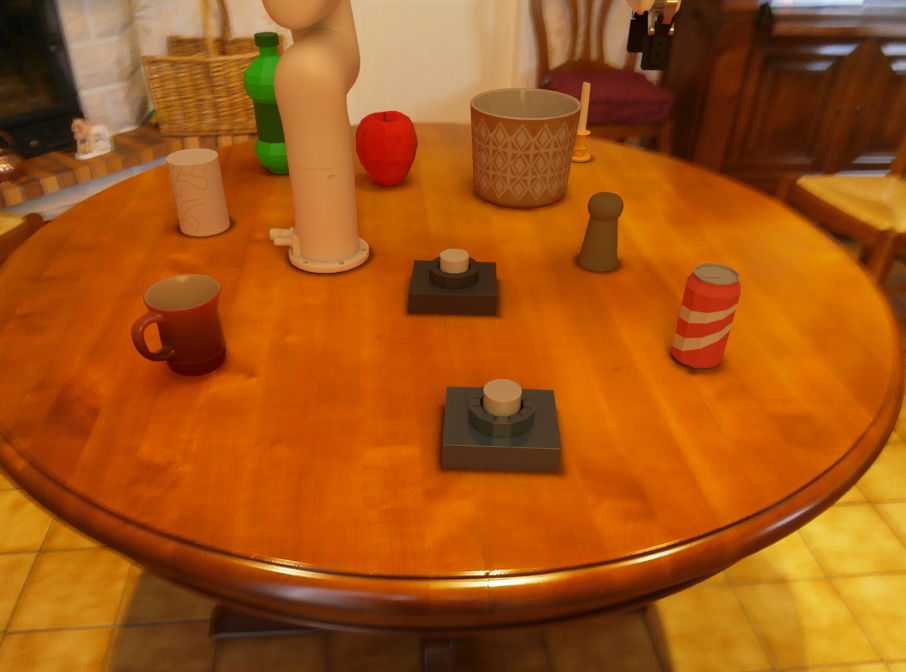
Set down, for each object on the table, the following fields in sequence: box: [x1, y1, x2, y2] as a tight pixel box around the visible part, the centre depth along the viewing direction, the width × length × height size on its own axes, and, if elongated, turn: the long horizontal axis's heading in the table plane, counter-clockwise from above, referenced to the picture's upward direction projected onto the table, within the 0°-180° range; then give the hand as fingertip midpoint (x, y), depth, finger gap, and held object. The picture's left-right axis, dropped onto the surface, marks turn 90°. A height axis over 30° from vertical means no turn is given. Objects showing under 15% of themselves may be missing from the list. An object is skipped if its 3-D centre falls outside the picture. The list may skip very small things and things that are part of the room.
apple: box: [354, 110, 419, 187], centre depth 138 cm, size 12×12×13 cm
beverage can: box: [670, 263, 742, 369], centre depth 89 cm, size 6×6×12 cm
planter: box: [469, 87, 582, 209], centre depth 133 cm, size 19×19×16 cm
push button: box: [439, 248, 470, 273], centre depth 102 cm, size 4×4×2 cm
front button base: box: [441, 385, 562, 473], centre depth 79 cm, size 12×10×5 cm
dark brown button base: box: [408, 256, 498, 317], centre depth 104 cm, size 12×10×5 cm
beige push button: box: [483, 378, 522, 416], centre depth 77 cm, size 4×4×2 cm
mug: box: [130, 273, 228, 378], centre depth 88 cm, size 12×9×10 cm
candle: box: [572, 81, 592, 163], centre depth 149 cm, size 5×5×16 cm
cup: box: [165, 147, 231, 237], centre depth 122 cm, size 8×8×12 cm
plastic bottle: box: [242, 31, 289, 175], centre depth 140 cm, size 10×10×25 cm
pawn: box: [577, 191, 625, 273], centre depth 111 cm, size 6×6×11 cm
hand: (645, 60), depth 95 cm, fingers open, 9 cm apart
